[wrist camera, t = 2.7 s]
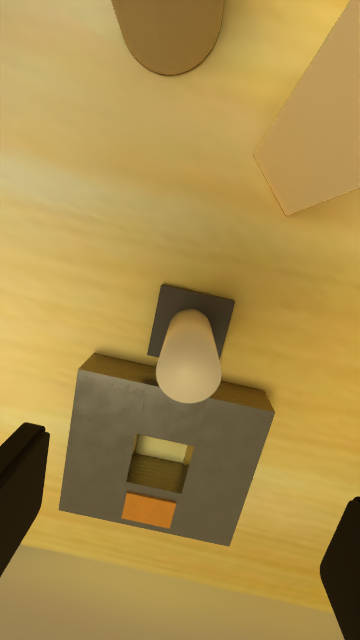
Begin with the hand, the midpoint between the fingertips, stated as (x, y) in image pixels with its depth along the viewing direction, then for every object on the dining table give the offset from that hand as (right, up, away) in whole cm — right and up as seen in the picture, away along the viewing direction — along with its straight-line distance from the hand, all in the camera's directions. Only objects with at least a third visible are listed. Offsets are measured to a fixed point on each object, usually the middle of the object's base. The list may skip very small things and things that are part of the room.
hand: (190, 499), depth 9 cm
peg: (+1, +5, +18) cm, 19 cm away
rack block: (-2, -7, +22) cm, 24 cm away
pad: (+1, +5, +19) cm, 20 cm away
